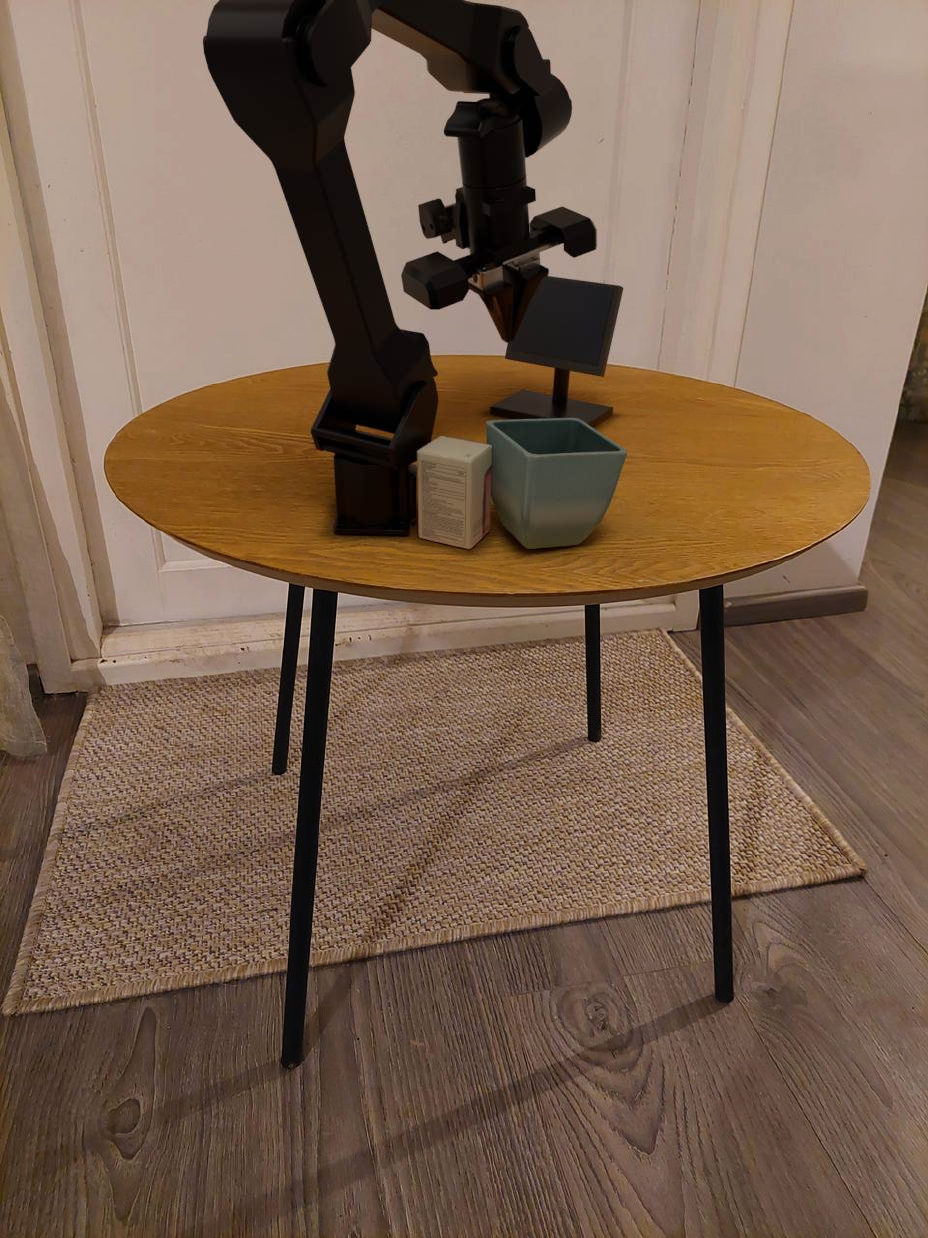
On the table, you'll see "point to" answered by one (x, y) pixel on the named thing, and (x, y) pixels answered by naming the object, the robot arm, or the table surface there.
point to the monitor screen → (568, 326)
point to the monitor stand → (551, 404)
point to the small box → (454, 491)
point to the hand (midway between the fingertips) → (507, 340)
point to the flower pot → (552, 478)
